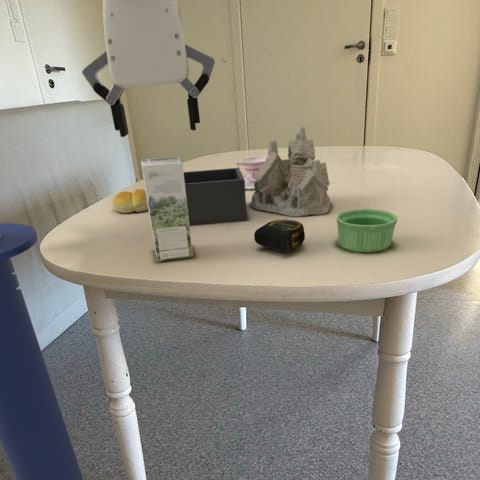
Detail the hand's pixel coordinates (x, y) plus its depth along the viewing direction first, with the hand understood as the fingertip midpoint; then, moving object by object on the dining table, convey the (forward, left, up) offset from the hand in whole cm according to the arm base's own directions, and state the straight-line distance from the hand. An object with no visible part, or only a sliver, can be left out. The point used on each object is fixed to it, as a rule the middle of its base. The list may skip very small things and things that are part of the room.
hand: (159, 132), depth 62 cm
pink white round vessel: (+19, +46, -18) cm, 53 cm away
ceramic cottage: (+23, +23, -18) cm, 37 cm away
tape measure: (+17, -2, -18) cm, 25 cm away
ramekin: (+30, -3, -18) cm, 35 cm away
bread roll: (-10, +32, -18) cm, 38 cm away
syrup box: (0, 0, -18) cm, 18 cm away
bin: (+7, +22, -18) cm, 29 cm away
